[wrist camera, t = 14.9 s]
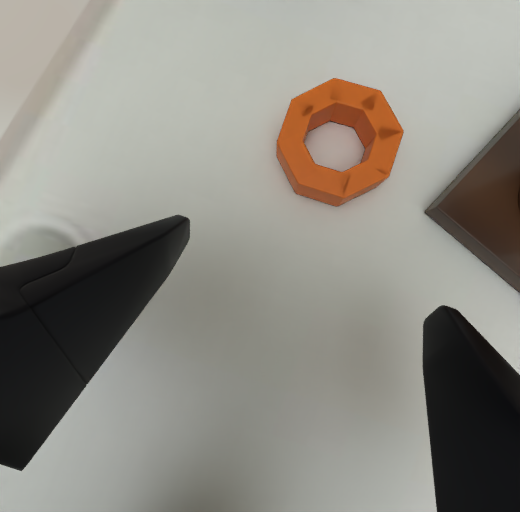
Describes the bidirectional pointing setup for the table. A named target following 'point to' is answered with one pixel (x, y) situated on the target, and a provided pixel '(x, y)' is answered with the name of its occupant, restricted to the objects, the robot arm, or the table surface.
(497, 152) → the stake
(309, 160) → the ring
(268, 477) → the table surface
